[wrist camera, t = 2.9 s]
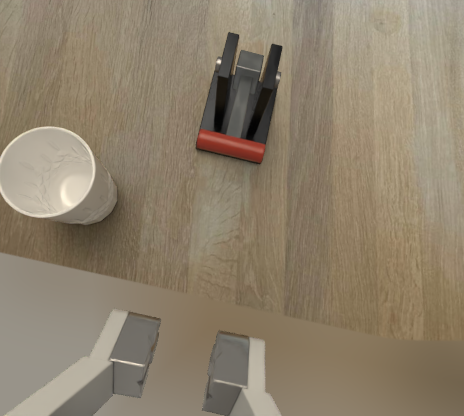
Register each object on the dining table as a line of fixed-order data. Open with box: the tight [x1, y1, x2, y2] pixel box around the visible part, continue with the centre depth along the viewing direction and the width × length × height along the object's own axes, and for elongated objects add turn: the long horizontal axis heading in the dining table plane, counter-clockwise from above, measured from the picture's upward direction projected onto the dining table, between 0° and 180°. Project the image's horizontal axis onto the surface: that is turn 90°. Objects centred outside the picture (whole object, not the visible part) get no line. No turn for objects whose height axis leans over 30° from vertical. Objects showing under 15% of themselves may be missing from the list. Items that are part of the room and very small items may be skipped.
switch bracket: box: [196, 32, 282, 164], centre depth 34 cm, size 10×8×12 cm
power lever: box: [197, 50, 265, 163], centre depth 28 cm, size 12×5×2 cm, turn 168°
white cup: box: [0, 127, 117, 225], centre depth 32 cm, size 8×8×10 cm
